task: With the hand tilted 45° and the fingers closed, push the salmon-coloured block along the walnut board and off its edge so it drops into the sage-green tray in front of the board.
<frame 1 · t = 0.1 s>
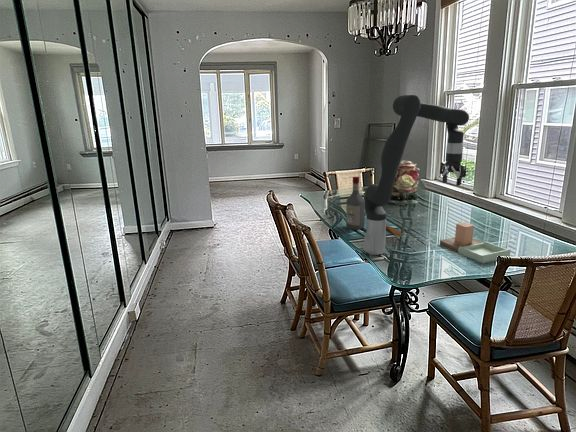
hand: (451, 184, 193), 29 cm above the table, tool pointing down, fingers open, 8 cm apart
board: (461, 246, 189), on the table
tray: (483, 255, 177), on the table
salmon-coloured block: (463, 242, 188), point 2 cm above the table, touching board
primitive tool: (390, 231, 217), on the table
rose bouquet: (401, 201, 280), on the table
liquor: (355, 227, 224), on the table
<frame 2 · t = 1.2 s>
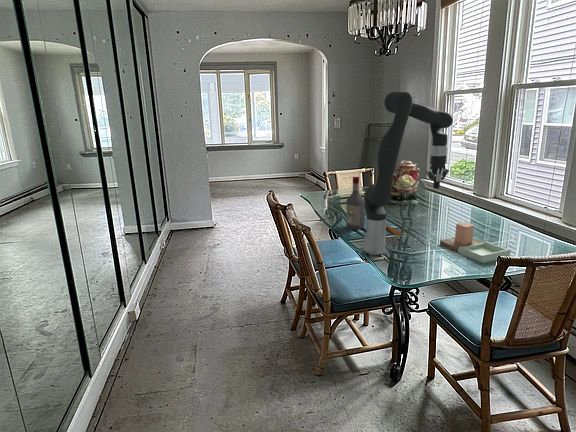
hand: (436, 188, 195), 27 cm above the table, tool pointing down, fingers closed
nothing on the table moved.
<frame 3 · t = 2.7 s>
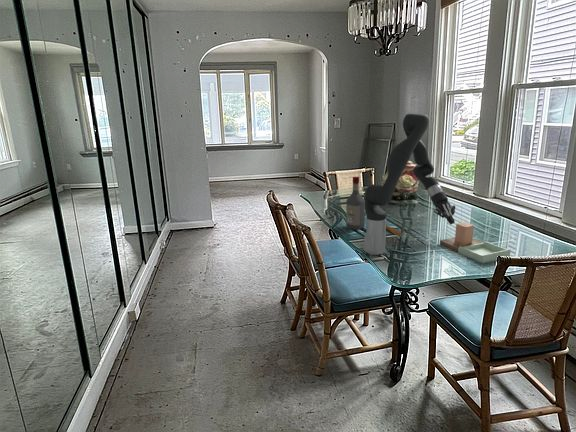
hand: (452, 223, 193), 10 cm above the table, tool tilted 45°, fingers closed
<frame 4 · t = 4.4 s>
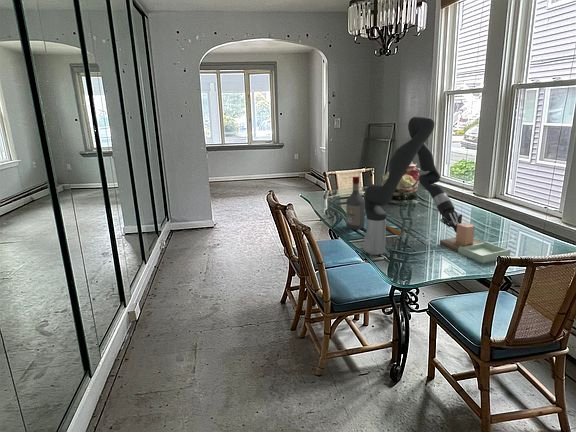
hand: (459, 232, 189), 6 cm above the table, tool tilted 45°, fingers closed
salmon-coloured block: (464, 242, 187), point 2 cm above the table, touching board, gripper
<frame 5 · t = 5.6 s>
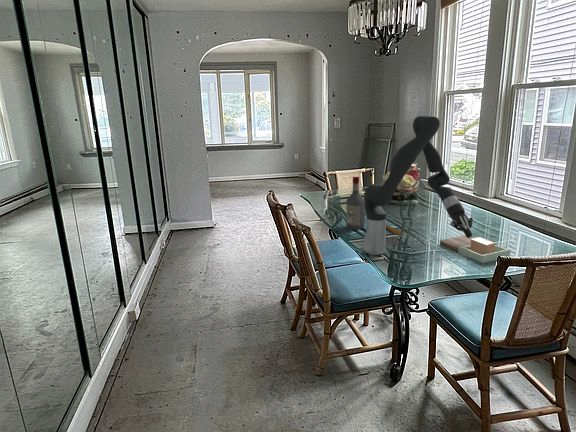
hand: (470, 236, 183), 6 cm above the table, tool tilted 45°, fingers closed
salmon-coloured block: (474, 243, 181), point 4 cm above the table, tilted 90°, touching tray
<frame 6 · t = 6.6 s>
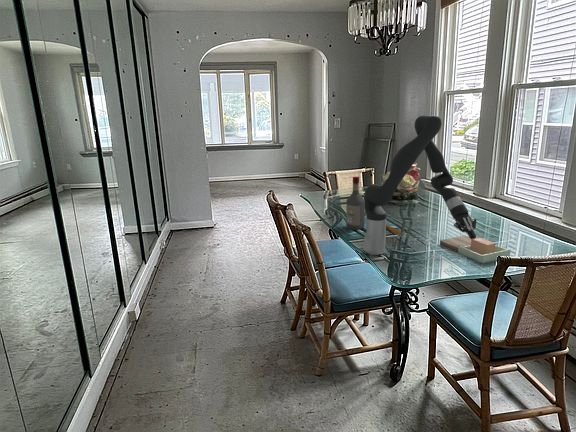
hand: (473, 238, 181), 6 cm above the table, tool tilted 45°, fingers closed
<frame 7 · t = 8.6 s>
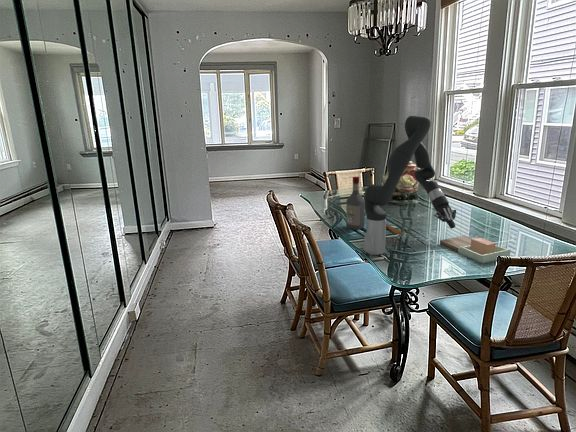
hand: (453, 227, 193), 8 cm above the table, tool tilted 45°, fingers closed
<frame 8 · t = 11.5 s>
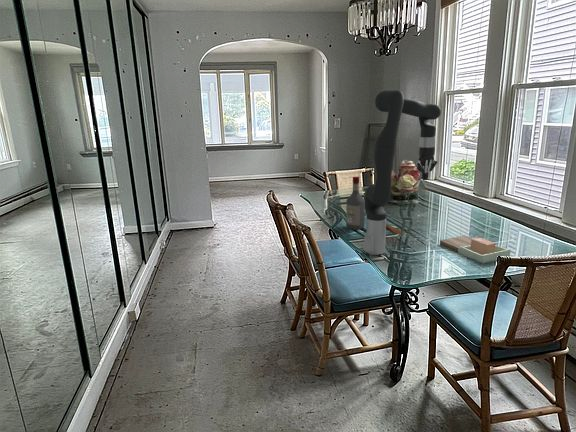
hand: (424, 179, 196), 31 cm above the table, tool pointing down, fingers closed
at the end: salmon-coloured block inside the target area on the tray (6.7 cm from its centre), point 3.6 cm above the tray's base; salmon-coloured block touching tray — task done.
